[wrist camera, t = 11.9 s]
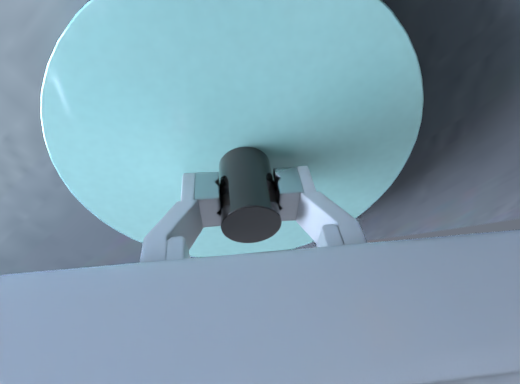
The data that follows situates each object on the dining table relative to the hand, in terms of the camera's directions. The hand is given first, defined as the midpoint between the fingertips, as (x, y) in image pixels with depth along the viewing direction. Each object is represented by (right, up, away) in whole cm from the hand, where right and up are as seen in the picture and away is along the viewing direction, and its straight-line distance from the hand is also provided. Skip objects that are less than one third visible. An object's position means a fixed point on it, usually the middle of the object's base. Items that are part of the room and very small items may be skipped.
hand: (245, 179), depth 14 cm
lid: (0, +1, +1) cm, 2 cm away
